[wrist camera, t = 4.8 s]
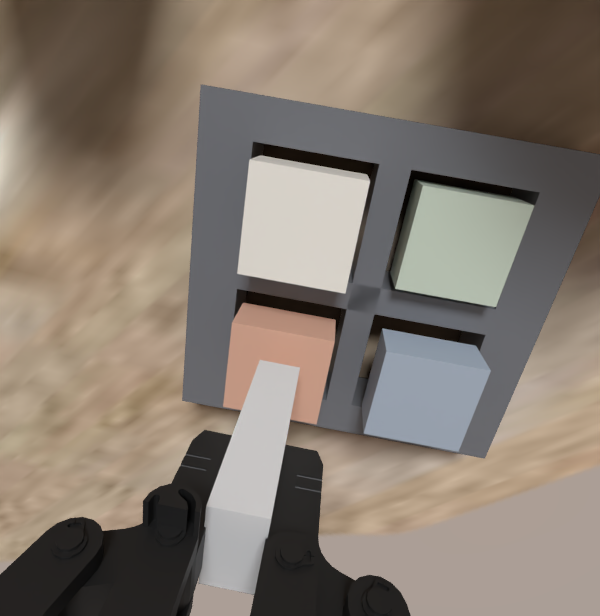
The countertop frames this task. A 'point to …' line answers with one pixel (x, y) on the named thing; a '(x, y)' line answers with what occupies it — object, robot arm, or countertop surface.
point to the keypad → (378, 244)
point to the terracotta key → (280, 354)
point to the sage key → (458, 242)
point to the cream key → (301, 223)
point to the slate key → (423, 389)
